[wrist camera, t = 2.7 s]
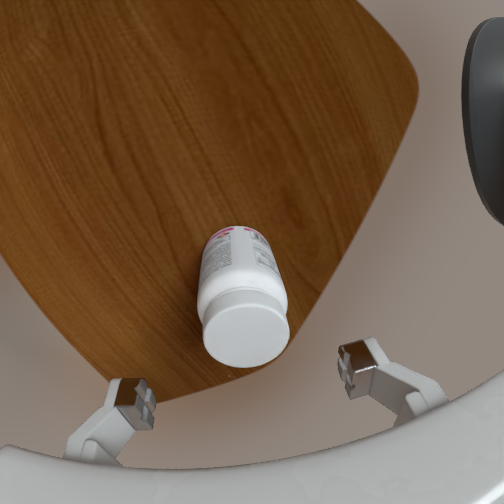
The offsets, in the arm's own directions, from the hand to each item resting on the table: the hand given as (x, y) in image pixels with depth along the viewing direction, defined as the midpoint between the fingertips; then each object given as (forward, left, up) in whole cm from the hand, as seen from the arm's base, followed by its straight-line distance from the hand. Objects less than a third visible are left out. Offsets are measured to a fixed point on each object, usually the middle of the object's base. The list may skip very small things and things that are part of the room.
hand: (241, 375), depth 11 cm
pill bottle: (0, 0, -11) cm, 11 cm away
